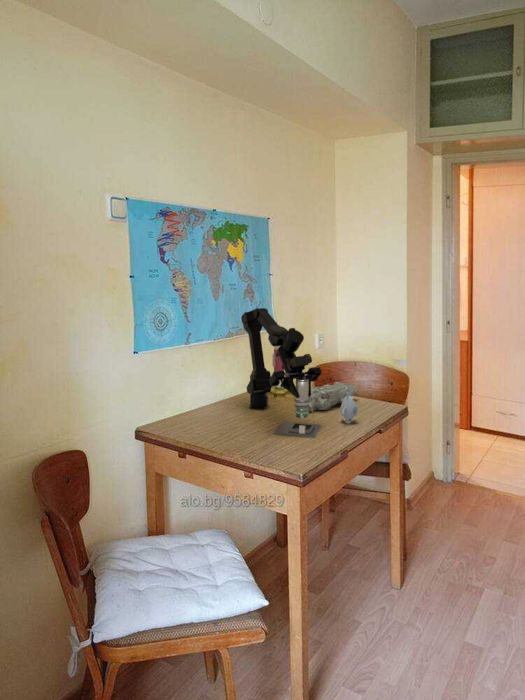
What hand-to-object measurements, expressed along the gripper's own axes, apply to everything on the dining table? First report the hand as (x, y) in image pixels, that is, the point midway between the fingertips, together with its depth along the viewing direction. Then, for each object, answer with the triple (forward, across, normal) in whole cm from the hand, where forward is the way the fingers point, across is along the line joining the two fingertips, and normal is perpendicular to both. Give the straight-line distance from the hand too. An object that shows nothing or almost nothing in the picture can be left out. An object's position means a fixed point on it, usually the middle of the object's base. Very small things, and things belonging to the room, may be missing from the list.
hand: (304, 396), depth 182 cm
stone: (-8, +28, +28) cm, 40 cm away
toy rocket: (-25, +16, +44) cm, 54 cm away
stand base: (+7, 0, +12) cm, 14 cm away
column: (+4, 0, +6) cm, 7 cm away
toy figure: (+7, +21, +12) cm, 25 cm away
